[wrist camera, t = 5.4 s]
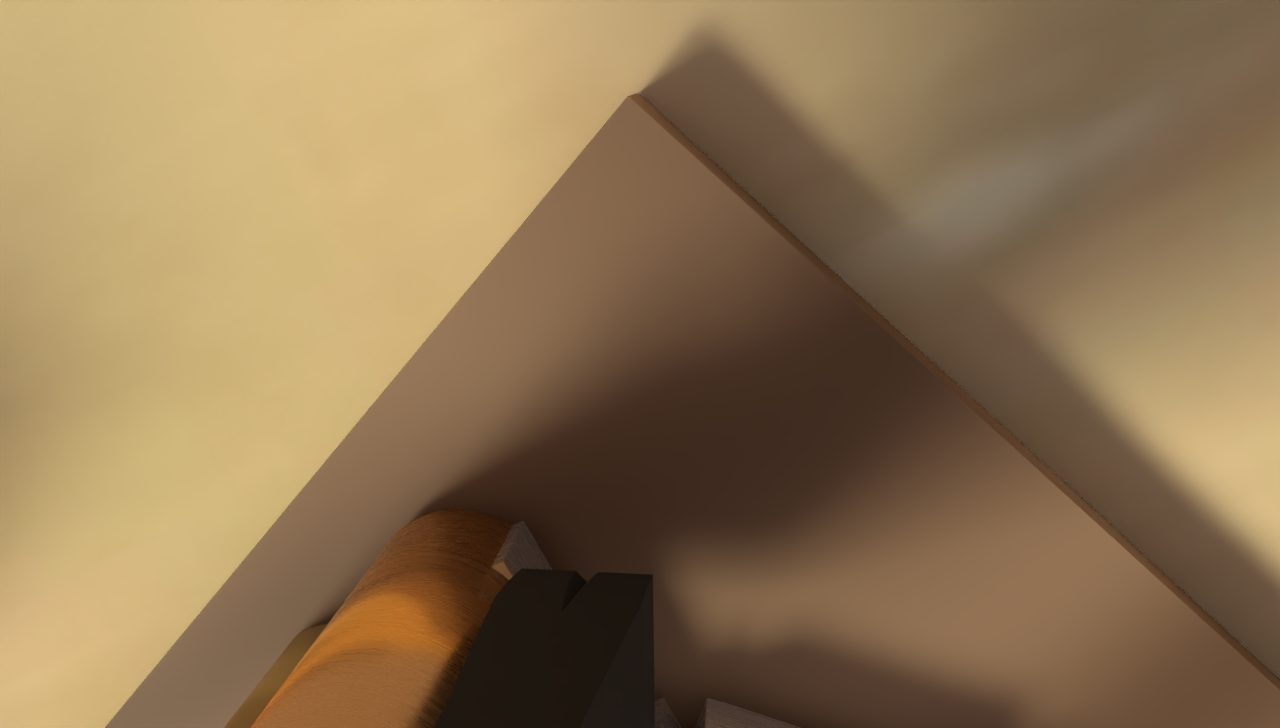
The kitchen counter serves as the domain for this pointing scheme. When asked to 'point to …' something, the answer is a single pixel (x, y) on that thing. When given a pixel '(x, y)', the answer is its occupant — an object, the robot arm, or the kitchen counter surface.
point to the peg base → (728, 489)
